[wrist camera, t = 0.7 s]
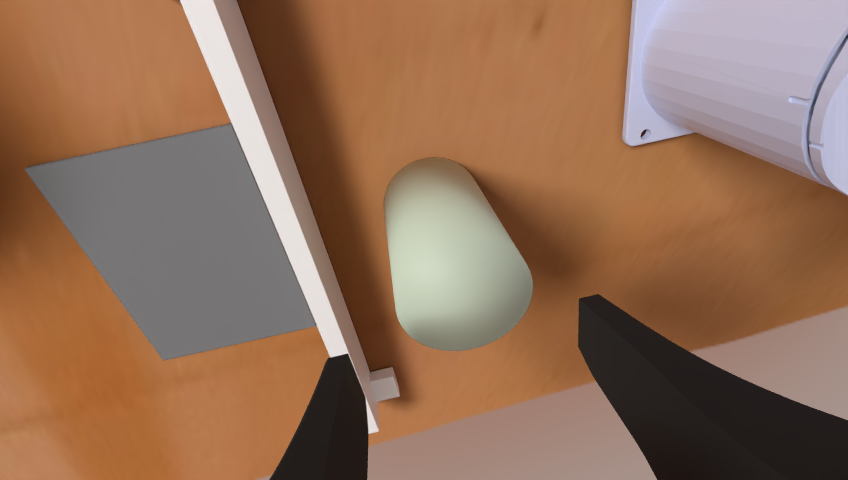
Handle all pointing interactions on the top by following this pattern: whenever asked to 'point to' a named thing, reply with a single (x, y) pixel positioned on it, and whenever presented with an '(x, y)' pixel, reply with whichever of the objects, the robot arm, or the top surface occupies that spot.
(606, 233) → the top surface
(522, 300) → the green cylinder
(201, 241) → the mat
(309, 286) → the low wall
